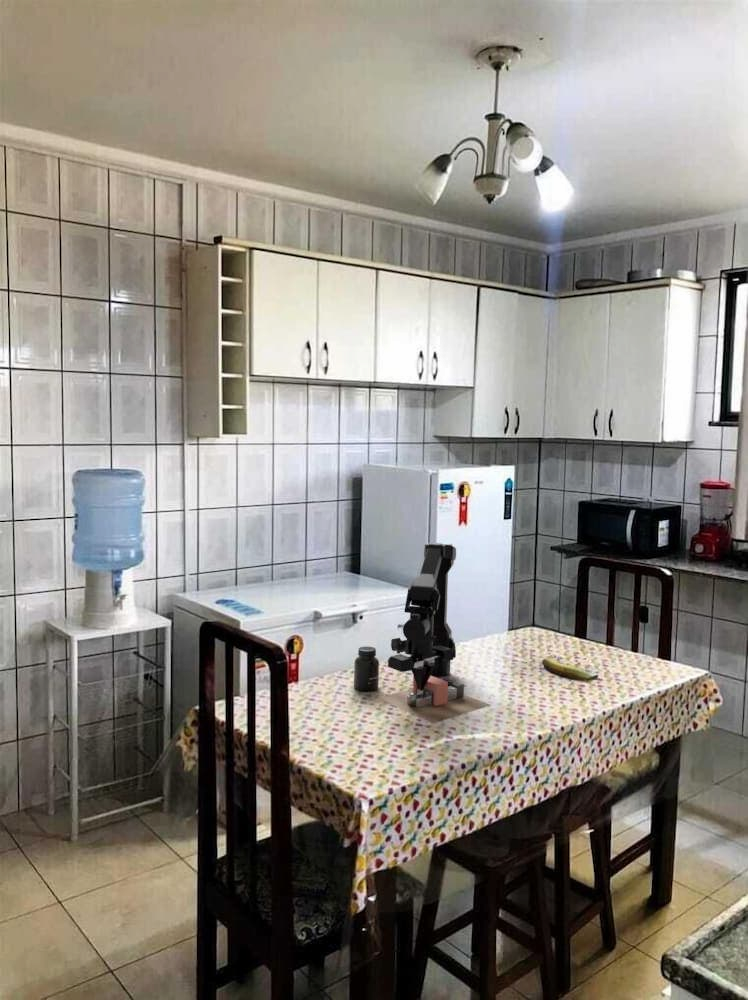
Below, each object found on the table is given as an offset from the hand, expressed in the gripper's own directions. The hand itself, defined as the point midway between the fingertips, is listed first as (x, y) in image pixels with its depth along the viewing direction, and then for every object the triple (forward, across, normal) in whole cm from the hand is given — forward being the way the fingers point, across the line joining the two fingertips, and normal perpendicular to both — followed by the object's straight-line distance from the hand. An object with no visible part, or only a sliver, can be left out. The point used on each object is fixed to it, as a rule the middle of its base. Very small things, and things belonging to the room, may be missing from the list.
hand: (420, 689), depth 219 cm
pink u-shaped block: (+3, -4, 0) cm, 5 cm away
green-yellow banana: (+5, -54, +6) cm, 55 cm away
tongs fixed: (+4, -5, -1) cm, 6 cm away
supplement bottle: (+5, +4, -18) cm, 19 cm away
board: (+4, -4, +1) cm, 6 cm away
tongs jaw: (+3, -5, +2) cm, 6 cm away
